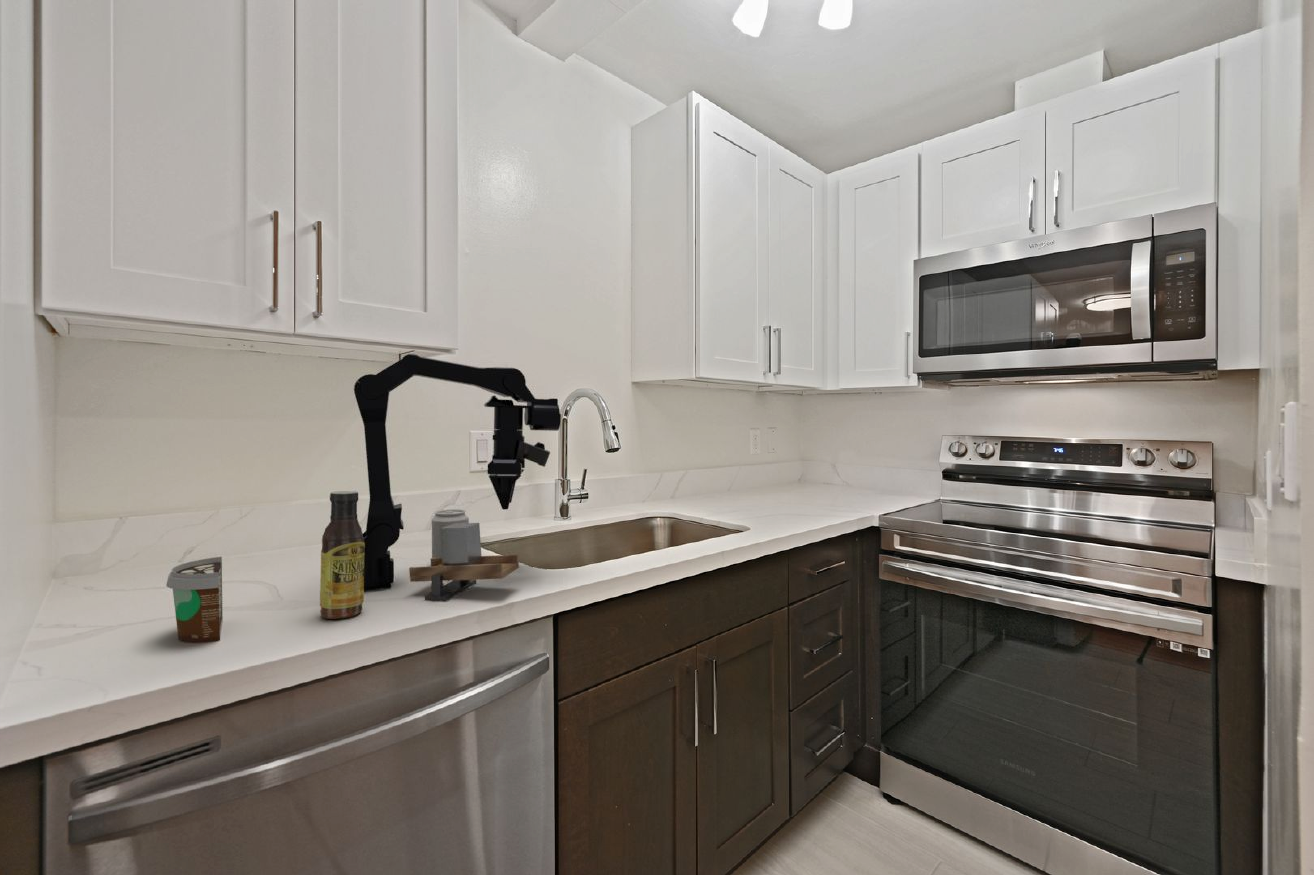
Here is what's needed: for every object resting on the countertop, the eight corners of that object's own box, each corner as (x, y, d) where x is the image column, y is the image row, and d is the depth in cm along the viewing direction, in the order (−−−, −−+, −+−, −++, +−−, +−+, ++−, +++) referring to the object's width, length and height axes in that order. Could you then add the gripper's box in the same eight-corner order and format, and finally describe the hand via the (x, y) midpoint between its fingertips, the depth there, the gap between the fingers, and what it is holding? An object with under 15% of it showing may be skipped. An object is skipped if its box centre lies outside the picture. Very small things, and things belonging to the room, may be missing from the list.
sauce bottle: (333, 624, 89) (331, 495, 88) (311, 616, 92) (310, 492, 92) (373, 612, 95) (372, 491, 94) (351, 605, 98) (350, 488, 97)
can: (445, 572, 119) (444, 514, 119) (424, 566, 124) (424, 511, 123) (476, 565, 125) (475, 510, 125) (455, 560, 129) (455, 506, 129)
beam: (409, 582, 103) (407, 567, 103) (433, 571, 111) (432, 556, 111) (501, 579, 100) (499, 563, 100) (519, 567, 108) (518, 552, 108)
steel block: (443, 572, 104) (440, 528, 103) (457, 565, 108) (454, 523, 108) (468, 572, 103) (466, 527, 103) (482, 565, 108) (479, 522, 107)
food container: (172, 626, 88) (171, 561, 87) (223, 618, 91) (221, 555, 91) (162, 653, 78) (160, 580, 77) (219, 643, 81) (218, 573, 81)
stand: (424, 600, 101) (424, 575, 101) (457, 582, 112) (457, 560, 112) (445, 601, 100) (445, 577, 100) (476, 583, 111) (476, 561, 111)
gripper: (548, 431, 110) (546, 513, 111) (548, 430, 129) (547, 499, 129) (487, 430, 108) (486, 513, 109) (496, 429, 127) (495, 499, 127)
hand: (506, 506), depth 119 cm, fingers open, 9 cm apart
